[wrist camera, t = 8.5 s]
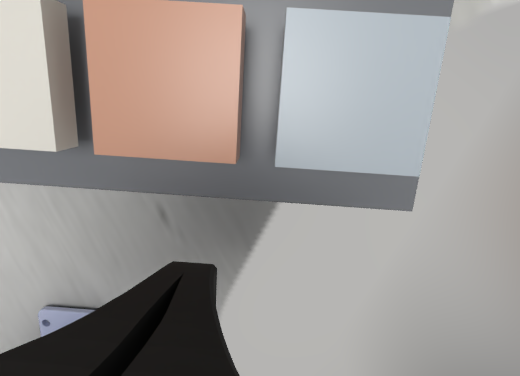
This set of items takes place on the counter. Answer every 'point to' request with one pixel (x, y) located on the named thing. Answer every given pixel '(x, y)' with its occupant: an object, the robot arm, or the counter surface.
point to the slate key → (357, 90)
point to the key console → (252, 129)
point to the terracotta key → (166, 78)
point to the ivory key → (36, 77)
